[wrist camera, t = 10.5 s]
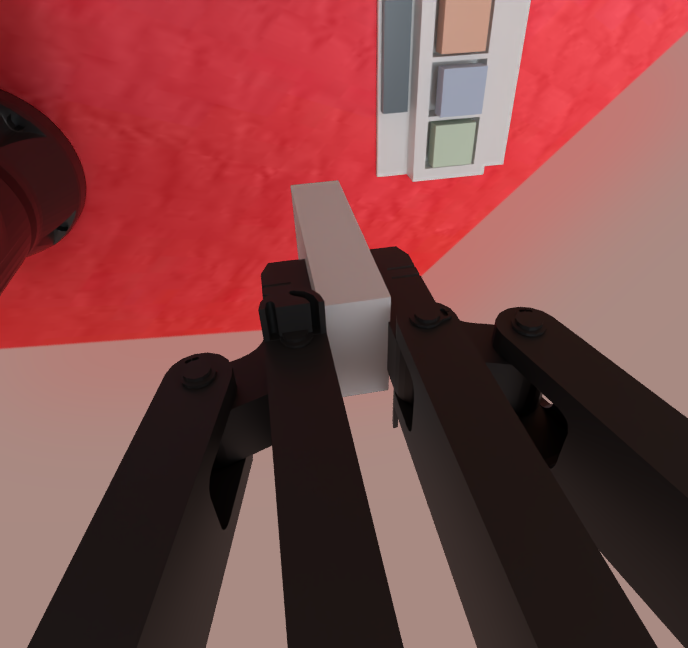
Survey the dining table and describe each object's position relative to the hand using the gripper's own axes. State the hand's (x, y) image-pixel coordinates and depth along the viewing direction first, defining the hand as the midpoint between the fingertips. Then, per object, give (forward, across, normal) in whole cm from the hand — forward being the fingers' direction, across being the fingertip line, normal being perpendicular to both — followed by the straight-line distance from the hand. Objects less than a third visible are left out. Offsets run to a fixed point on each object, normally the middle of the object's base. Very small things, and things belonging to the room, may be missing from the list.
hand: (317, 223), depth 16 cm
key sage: (+33, +17, -8) cm, 38 cm away
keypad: (+34, +17, -1) cm, 38 cm away
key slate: (+33, +17, -3) cm, 37 cm away
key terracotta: (+33, +17, +2) cm, 38 cm away
